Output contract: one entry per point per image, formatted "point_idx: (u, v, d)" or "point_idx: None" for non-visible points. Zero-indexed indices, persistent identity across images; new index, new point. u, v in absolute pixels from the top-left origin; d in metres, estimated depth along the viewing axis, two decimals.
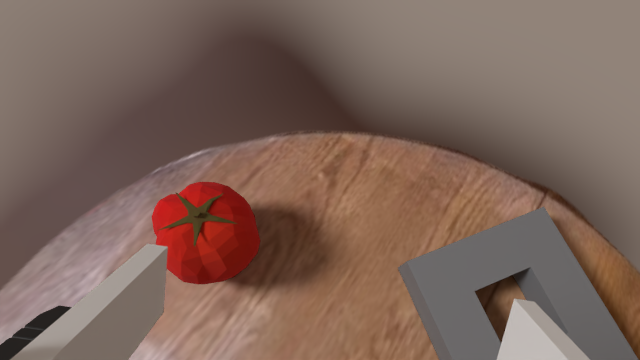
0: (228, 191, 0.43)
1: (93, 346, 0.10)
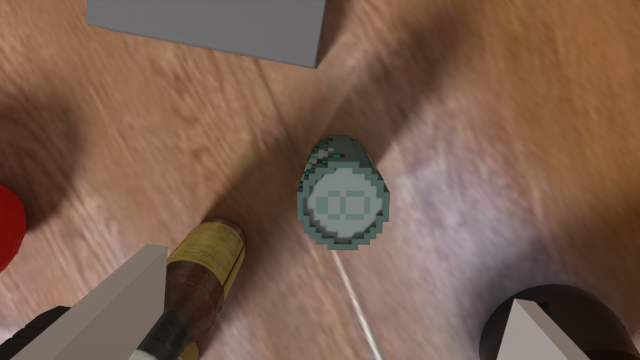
0: None
1: (93, 346, 0.10)
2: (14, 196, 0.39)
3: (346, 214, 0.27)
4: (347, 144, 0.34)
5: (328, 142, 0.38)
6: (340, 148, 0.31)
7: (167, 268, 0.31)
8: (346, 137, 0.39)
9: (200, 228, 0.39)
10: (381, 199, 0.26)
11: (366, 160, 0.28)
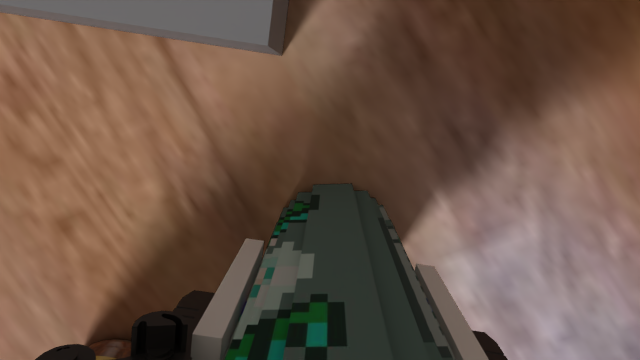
0: None
1: (236, 323, 0.12)
2: None
3: None
4: (350, 226, 0.14)
5: None
6: (332, 254, 0.12)
7: None
8: (347, 190, 0.19)
9: None
10: None
11: (413, 326, 0.09)
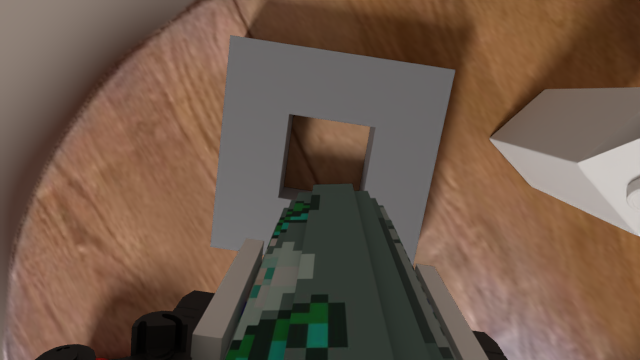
0: None
1: (236, 323, 0.12)
2: None
3: None
4: (350, 227, 0.14)
5: None
6: (333, 254, 0.12)
7: None
8: (347, 190, 0.19)
9: None
10: None
11: (414, 327, 0.09)
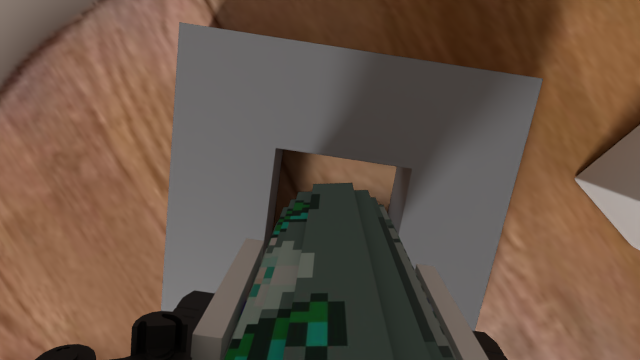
0: None
1: (236, 323, 0.12)
2: None
3: None
4: (350, 226, 0.14)
5: None
6: (332, 253, 0.12)
7: None
8: (347, 189, 0.19)
9: None
10: None
11: (414, 326, 0.09)
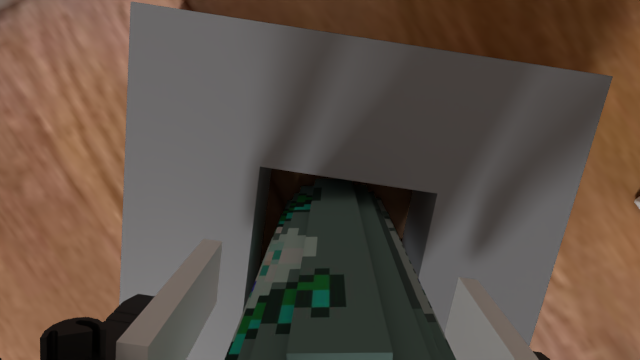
0: None
1: (176, 328, 0.11)
2: None
3: None
4: (349, 215, 0.16)
5: (313, 195, 0.20)
6: (333, 237, 0.13)
7: None
8: (347, 184, 0.21)
9: None
10: None
11: (403, 295, 0.10)
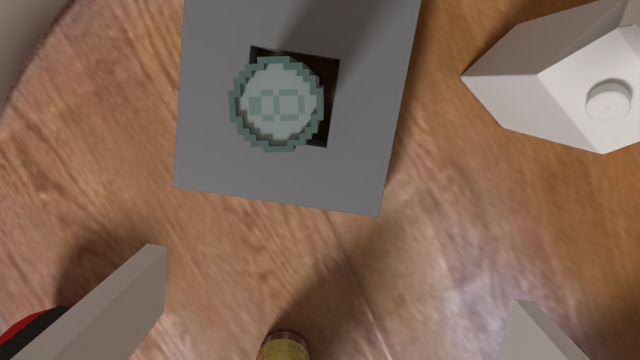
0: None
1: (93, 346, 0.10)
2: None
3: (281, 115, 0.26)
4: None
5: None
6: None
7: None
8: None
9: (272, 348, 0.43)
10: (315, 97, 0.26)
11: (303, 64, 0.27)
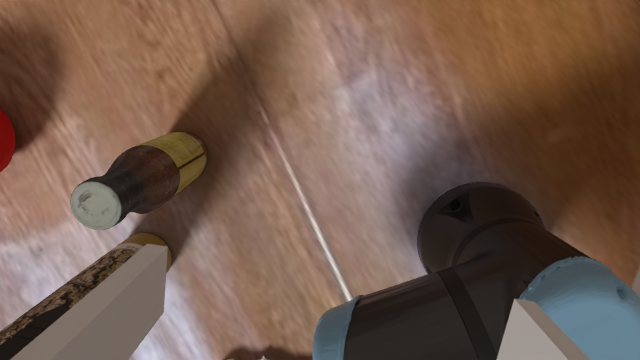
0: None
1: (92, 346, 0.10)
2: (4, 113, 0.45)
3: None
4: None
5: None
6: None
7: (129, 150, 0.37)
8: None
9: (164, 135, 0.45)
10: None
11: None
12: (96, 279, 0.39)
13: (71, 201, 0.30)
